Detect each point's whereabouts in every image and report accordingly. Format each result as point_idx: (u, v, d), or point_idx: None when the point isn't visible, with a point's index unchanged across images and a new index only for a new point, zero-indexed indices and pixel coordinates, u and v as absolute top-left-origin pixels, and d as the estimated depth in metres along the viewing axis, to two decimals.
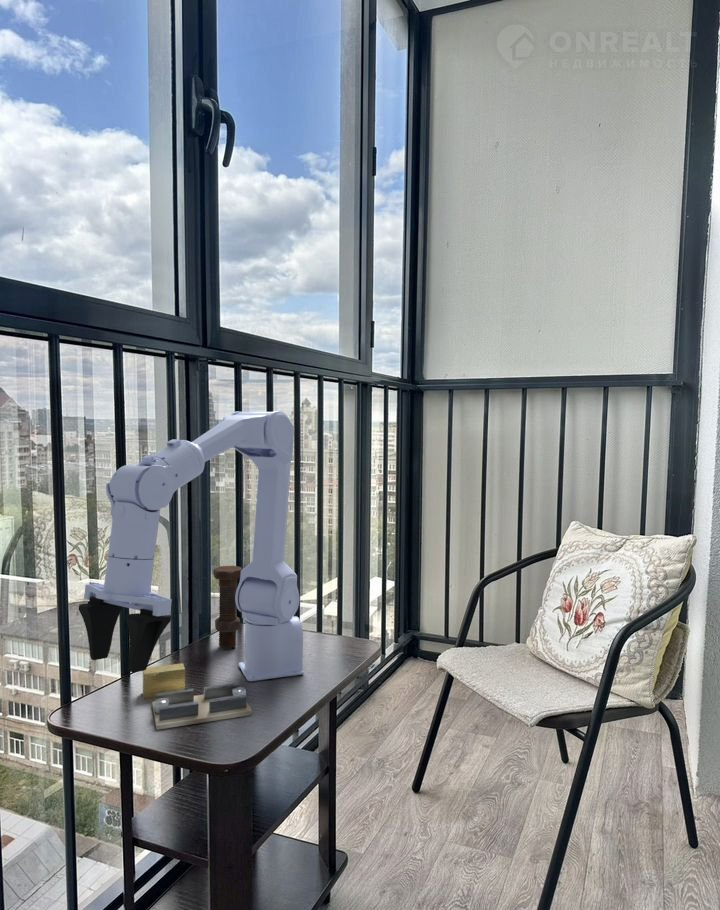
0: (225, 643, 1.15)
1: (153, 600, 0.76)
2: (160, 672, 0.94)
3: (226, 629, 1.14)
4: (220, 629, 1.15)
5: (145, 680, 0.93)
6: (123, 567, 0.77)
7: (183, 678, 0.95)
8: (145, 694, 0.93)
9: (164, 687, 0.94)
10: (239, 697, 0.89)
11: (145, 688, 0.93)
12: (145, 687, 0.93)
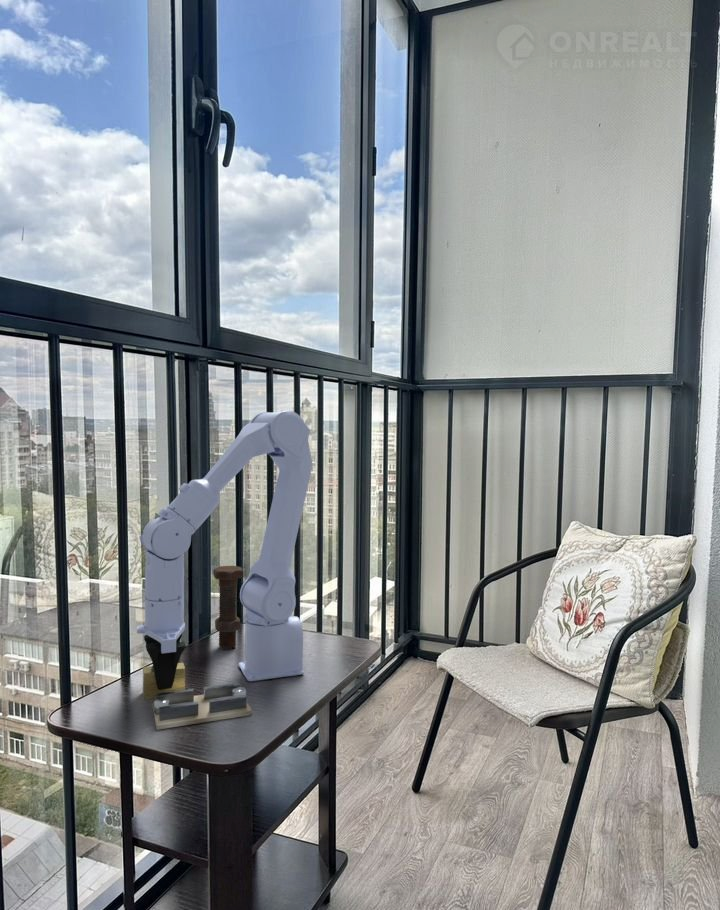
0: (225, 643, 1.15)
1: (160, 639, 0.89)
2: None
3: (226, 629, 1.14)
4: (220, 629, 1.15)
5: (145, 679, 0.93)
6: (149, 607, 0.93)
7: (183, 677, 0.95)
8: (145, 693, 0.93)
9: None
10: (239, 697, 0.89)
11: (145, 687, 0.93)
12: (145, 686, 0.93)
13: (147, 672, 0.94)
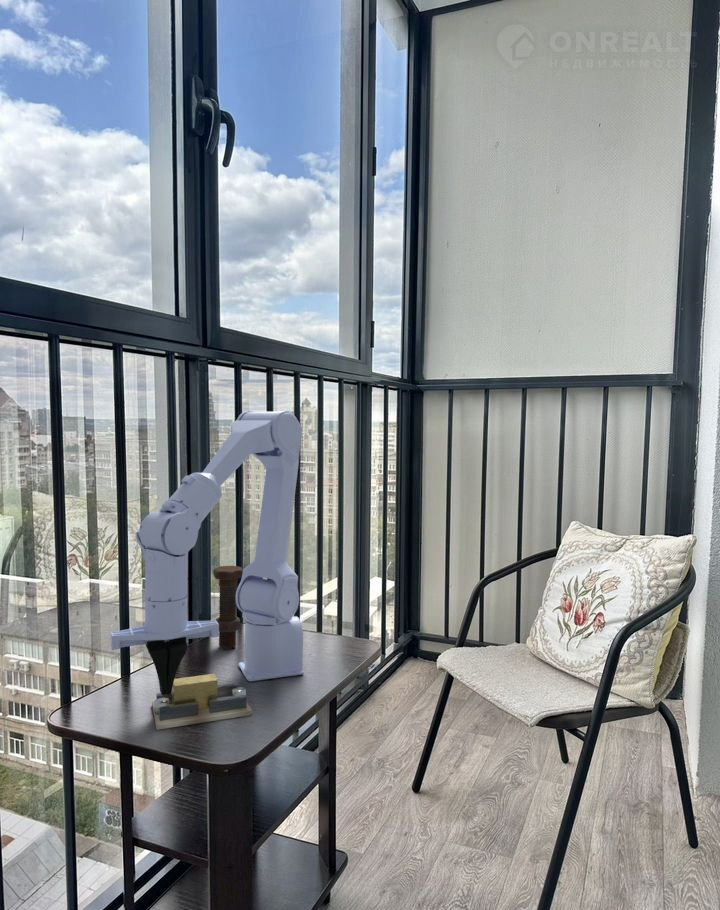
0: (225, 643, 1.15)
1: None
2: (191, 684, 0.88)
3: (226, 629, 1.14)
4: (220, 629, 1.15)
5: (176, 692, 0.87)
6: None
7: (215, 690, 0.89)
8: None
9: (196, 699, 0.88)
10: (239, 697, 0.89)
11: (175, 701, 0.87)
12: (176, 700, 0.87)
13: (177, 685, 0.88)
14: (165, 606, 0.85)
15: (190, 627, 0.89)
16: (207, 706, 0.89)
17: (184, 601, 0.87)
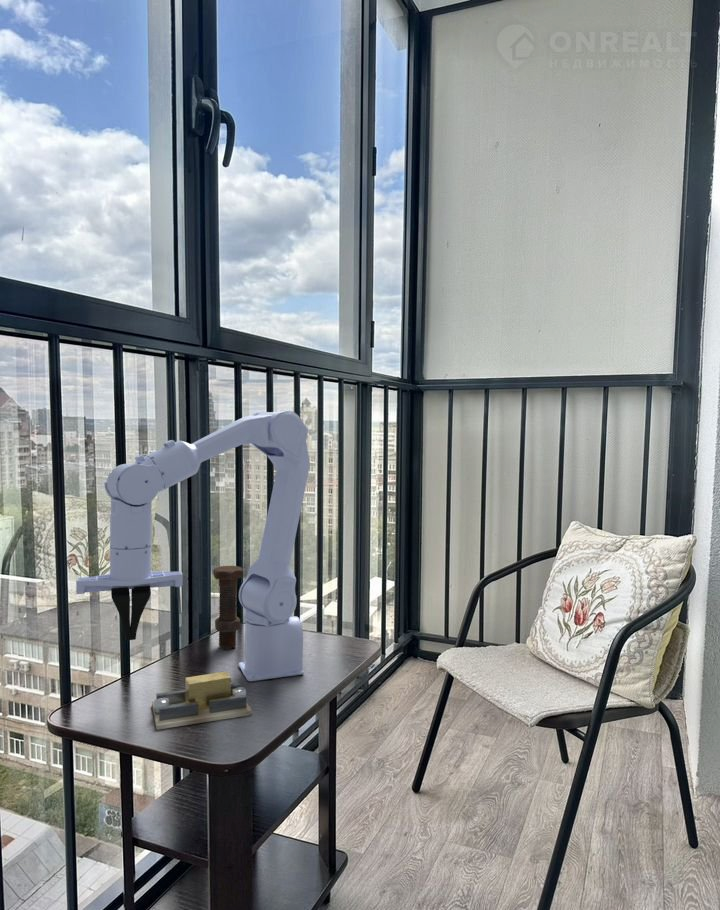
0: (225, 643, 1.15)
1: (84, 578, 0.89)
2: (206, 681, 0.89)
3: (226, 629, 1.14)
4: (220, 629, 1.15)
5: (190, 690, 0.88)
6: None
7: (229, 687, 0.91)
8: None
9: (210, 697, 0.89)
10: (239, 697, 0.89)
11: (190, 699, 0.88)
12: (190, 698, 0.88)
13: (192, 683, 0.88)
14: (127, 553, 0.88)
15: (154, 576, 0.92)
16: None
17: (147, 550, 0.90)
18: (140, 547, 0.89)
